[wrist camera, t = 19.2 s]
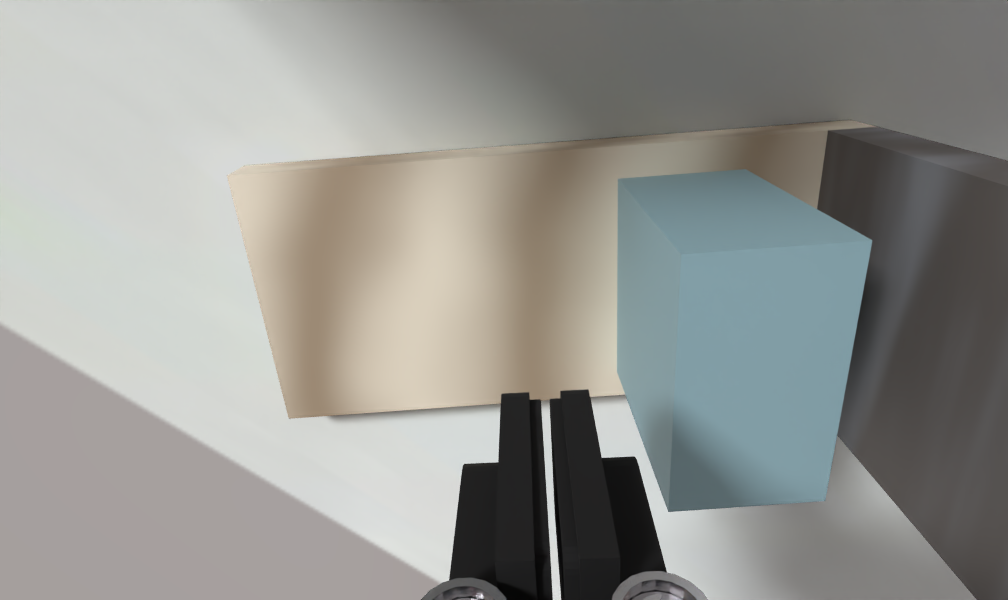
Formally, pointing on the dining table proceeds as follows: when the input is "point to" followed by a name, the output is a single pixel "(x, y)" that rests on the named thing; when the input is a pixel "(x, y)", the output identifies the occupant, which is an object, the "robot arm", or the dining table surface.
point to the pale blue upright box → (734, 335)
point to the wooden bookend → (593, 292)
